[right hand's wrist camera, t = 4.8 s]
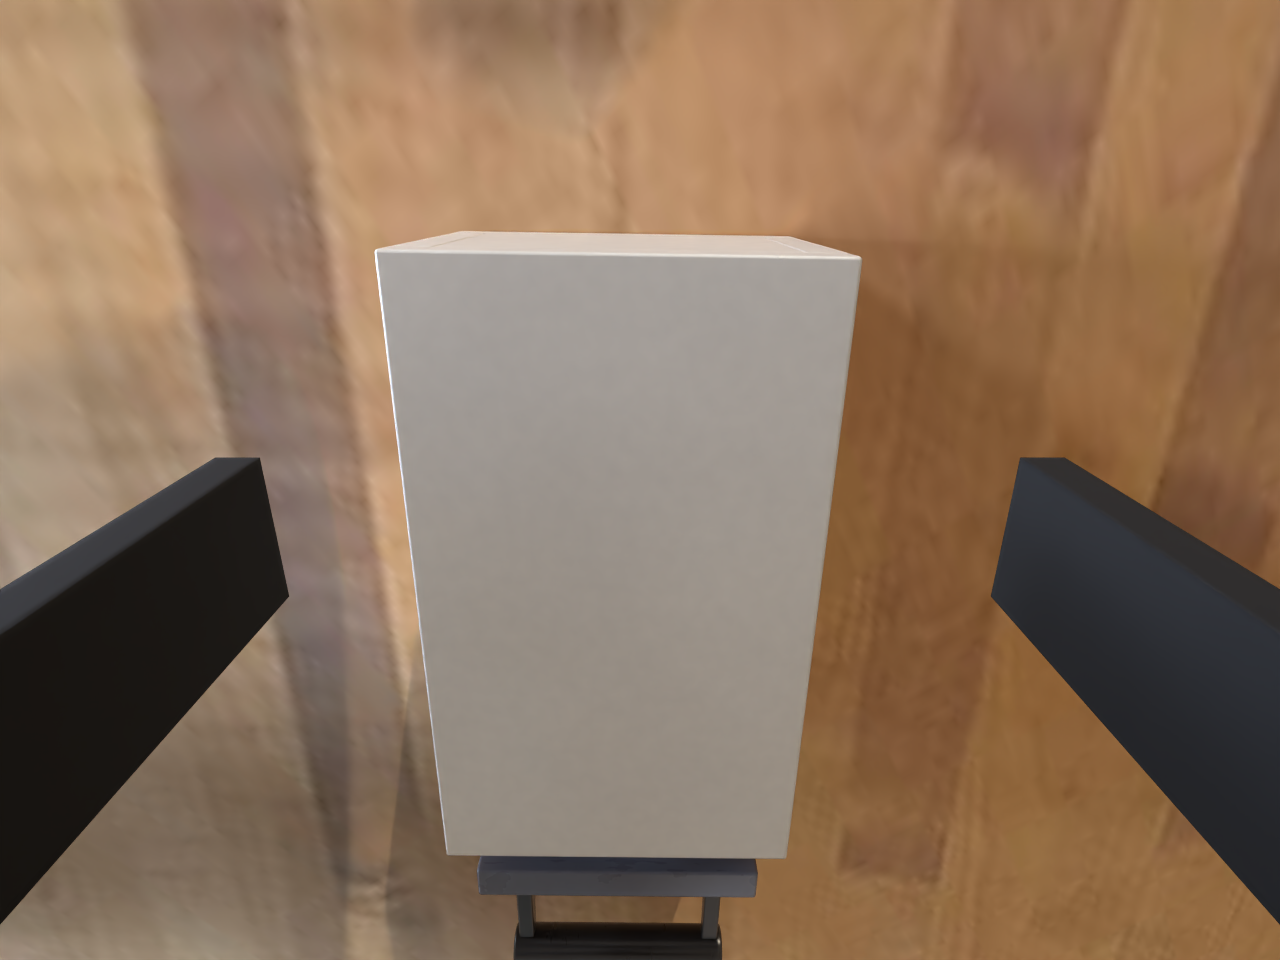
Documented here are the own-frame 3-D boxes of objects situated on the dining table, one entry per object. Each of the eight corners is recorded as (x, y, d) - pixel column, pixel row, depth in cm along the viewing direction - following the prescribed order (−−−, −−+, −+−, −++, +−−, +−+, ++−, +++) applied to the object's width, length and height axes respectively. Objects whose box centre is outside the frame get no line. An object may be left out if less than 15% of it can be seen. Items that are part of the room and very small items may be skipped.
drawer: (725, 866, 33) (744, 1008, 27) (515, 864, 33) (489, 1006, 27) (766, 375, 24) (806, 432, 18) (481, 371, 24) (431, 427, 18)
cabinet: (749, 692, 30) (787, 860, 23) (494, 689, 30) (445, 856, 23) (790, 236, 23) (863, 256, 16) (460, 231, 23) (372, 248, 16)
